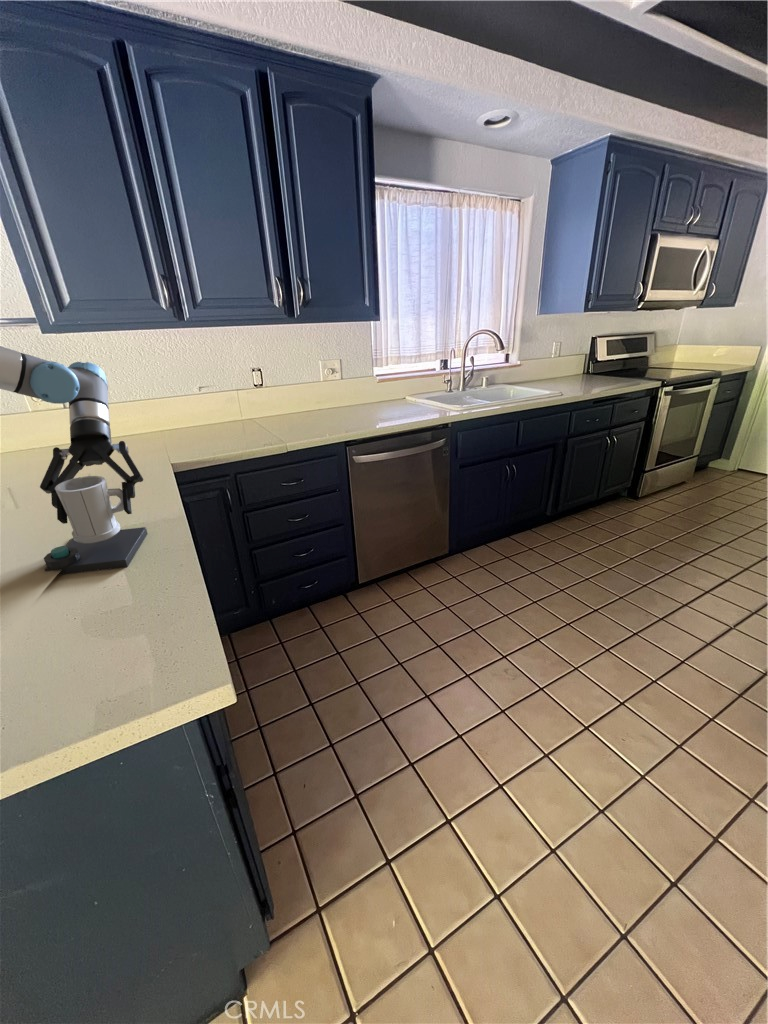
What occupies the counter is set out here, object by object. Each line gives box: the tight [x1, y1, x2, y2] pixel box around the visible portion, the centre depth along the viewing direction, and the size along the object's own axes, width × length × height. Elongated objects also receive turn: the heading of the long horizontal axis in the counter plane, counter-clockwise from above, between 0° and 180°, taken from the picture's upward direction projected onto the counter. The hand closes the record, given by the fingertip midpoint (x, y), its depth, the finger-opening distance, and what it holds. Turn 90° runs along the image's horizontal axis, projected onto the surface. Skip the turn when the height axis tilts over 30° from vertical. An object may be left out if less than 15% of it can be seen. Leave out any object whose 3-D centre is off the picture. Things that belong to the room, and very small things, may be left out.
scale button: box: [50, 545, 69, 559], centre depth 87 cm, size 3×3×2 cm
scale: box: [43, 526, 149, 576], centre depth 93 cm, size 15×15×4 cm
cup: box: [55, 475, 124, 543], centre depth 91 cm, size 10×9×12 cm
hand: (95, 516), depth 89 cm, fingers closed on cup, 11 cm apart
